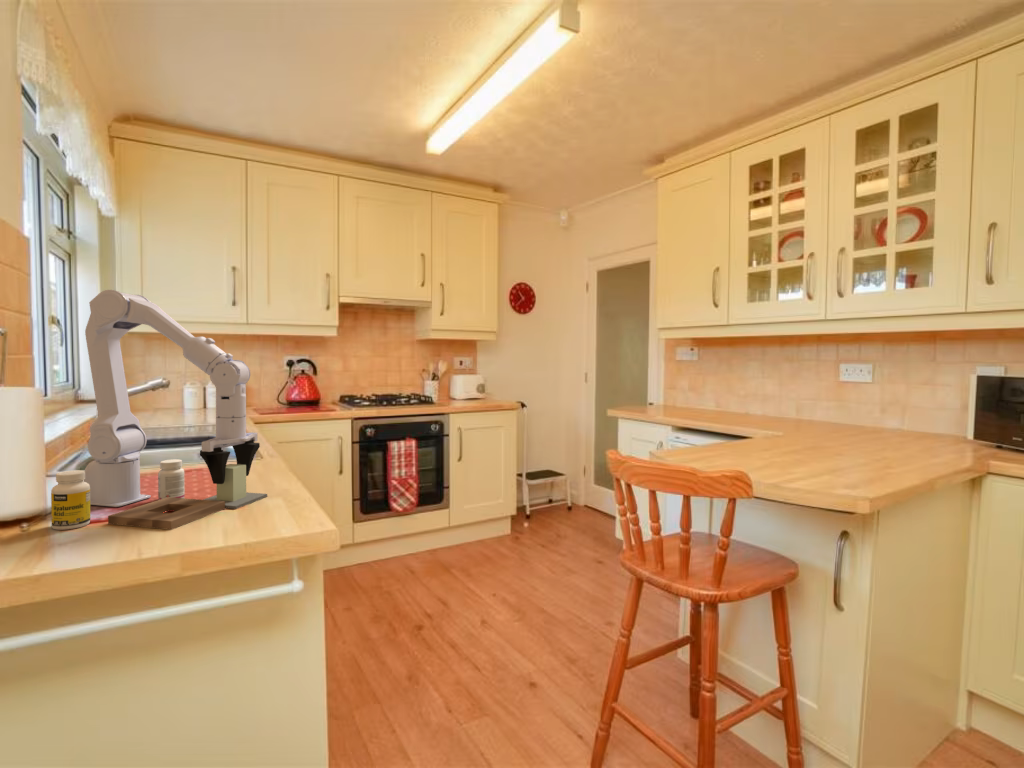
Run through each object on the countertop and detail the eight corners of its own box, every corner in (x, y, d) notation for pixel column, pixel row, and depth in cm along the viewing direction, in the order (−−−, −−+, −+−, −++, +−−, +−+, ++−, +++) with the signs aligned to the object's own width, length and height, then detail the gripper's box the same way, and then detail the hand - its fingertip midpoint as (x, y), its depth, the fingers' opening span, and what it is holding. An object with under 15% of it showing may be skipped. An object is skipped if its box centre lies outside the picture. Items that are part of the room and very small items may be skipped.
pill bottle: (189, 497, 115) (189, 459, 114) (173, 503, 110) (173, 463, 109) (169, 496, 115) (169, 458, 115) (152, 501, 110) (152, 462, 110)
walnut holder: (108, 523, 96) (108, 515, 96) (168, 504, 109) (168, 497, 109) (171, 529, 93) (171, 521, 93) (225, 508, 106) (225, 501, 106)
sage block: (216, 500, 110) (216, 467, 110) (230, 495, 114) (229, 463, 114) (233, 501, 110) (233, 468, 109) (246, 496, 114) (246, 464, 113)
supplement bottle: (47, 532, 91) (45, 476, 90) (57, 523, 95) (55, 470, 95) (86, 528, 93) (85, 474, 93) (94, 519, 98) (93, 468, 97)
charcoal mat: (193, 505, 108) (193, 502, 108) (227, 493, 118) (227, 491, 118) (236, 509, 106) (236, 506, 106) (267, 496, 116) (267, 493, 116)
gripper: (223, 421, 103) (223, 488, 104) (269, 414, 118) (269, 473, 118) (192, 419, 105) (192, 486, 105) (241, 412, 119) (241, 471, 120)
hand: (231, 479), depth 112 cm, fingers open, 7 cm apart
